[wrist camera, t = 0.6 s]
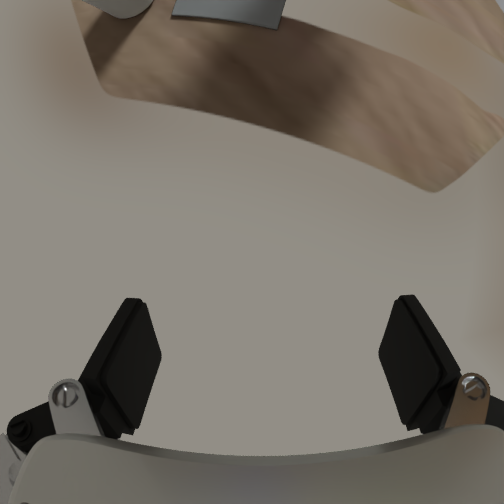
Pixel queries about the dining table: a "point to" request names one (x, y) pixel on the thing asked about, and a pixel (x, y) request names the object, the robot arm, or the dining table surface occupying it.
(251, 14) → the mat
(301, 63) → the dining table surface
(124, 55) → the dining table surface
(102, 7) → the can
